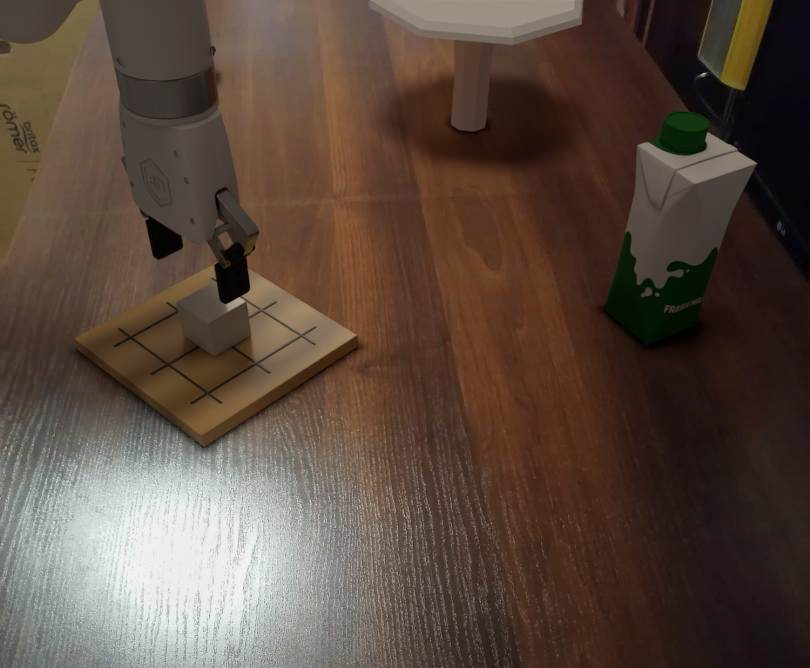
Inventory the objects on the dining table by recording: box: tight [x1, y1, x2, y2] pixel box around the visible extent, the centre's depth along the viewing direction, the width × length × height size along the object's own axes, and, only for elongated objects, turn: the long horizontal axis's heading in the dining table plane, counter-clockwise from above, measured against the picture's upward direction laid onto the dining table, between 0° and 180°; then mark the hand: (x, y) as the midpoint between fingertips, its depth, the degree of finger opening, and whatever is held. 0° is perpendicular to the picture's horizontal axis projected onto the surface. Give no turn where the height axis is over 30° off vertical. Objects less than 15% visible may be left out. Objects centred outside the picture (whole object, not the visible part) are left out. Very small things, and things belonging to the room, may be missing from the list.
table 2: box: [367, 0, 584, 132], centre depth 112 cm, size 28×28×17 cm
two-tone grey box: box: [176, 281, 251, 357], centre depth 85 cm, size 5×5×4 cm
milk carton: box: [603, 110, 758, 346], centre depth 84 cm, size 9×9×20 cm
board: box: [73, 261, 359, 448], centre depth 87 cm, size 20×20×2 cm
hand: (201, 274), depth 81 cm, fingers open, 9 cm apart
